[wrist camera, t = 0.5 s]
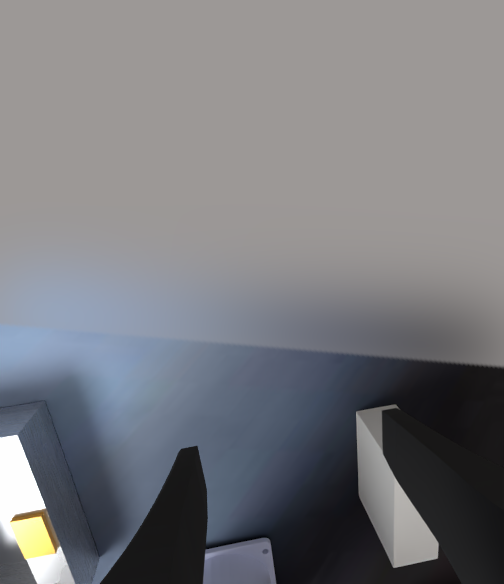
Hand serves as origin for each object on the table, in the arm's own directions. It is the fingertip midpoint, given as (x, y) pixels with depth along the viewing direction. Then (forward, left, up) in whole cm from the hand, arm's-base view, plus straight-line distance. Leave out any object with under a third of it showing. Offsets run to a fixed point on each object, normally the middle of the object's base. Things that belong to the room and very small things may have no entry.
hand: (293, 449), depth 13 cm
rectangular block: (-11, -8, -10) cm, 17 cm away
